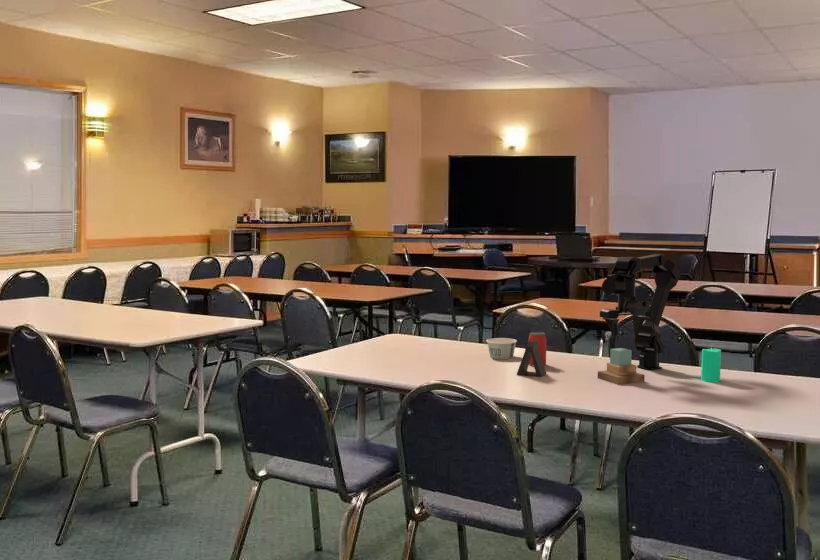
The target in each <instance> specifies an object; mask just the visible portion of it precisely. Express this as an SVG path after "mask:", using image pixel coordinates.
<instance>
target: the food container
mask: <svg viewBox="0 0 820 560" xmlns="http://www.w3.org/2000/svg"><path fill="white" fill-rule="evenodd" d="M485 341H486V342H487V346H488V347H487V348H488V353H489V357H490V358H492V359H496V360H497V359H498V360H506V359H512V358H514V354H515V349H516V344H517V342H518V340H517V339H514V338H508V337H495V338H488V339H486V340H485Z"/></svg>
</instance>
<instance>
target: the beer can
mask: <svg viewBox="0 0 820 560" xmlns="http://www.w3.org/2000/svg"><path fill="white" fill-rule="evenodd" d="M531 340H533V341H534V340H537V341H538V349H539V352H540V355H541V358H542V361H543V364H544V366H545V365H546V364H547V337H546V333H545V332H543V331H532V332H529V336H528V341H527V342H529V341H531ZM531 345H532V344H531ZM528 366H533V367H534V364H533V360H532V355H531V358H530V362H529V365H528Z"/></svg>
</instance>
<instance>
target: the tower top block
mask: <svg viewBox="0 0 820 560" xmlns="http://www.w3.org/2000/svg"><path fill="white" fill-rule="evenodd" d="M606 370H607V372H609V373H612V374H615V375H618V376H620V375H633V374H636V372H637V364H633V363H631V365H625V366H617V365H614V364H610V362H607V363H606Z"/></svg>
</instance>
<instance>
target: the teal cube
mask: <svg viewBox="0 0 820 560" xmlns="http://www.w3.org/2000/svg"><path fill="white" fill-rule="evenodd" d="M632 352H633V351H632V349H628V348H624V347H618V348H610V351H609V353H610V355H609V363H610V364H614V365H617V366H625V365H631V364H632V357H633V356H632Z"/></svg>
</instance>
